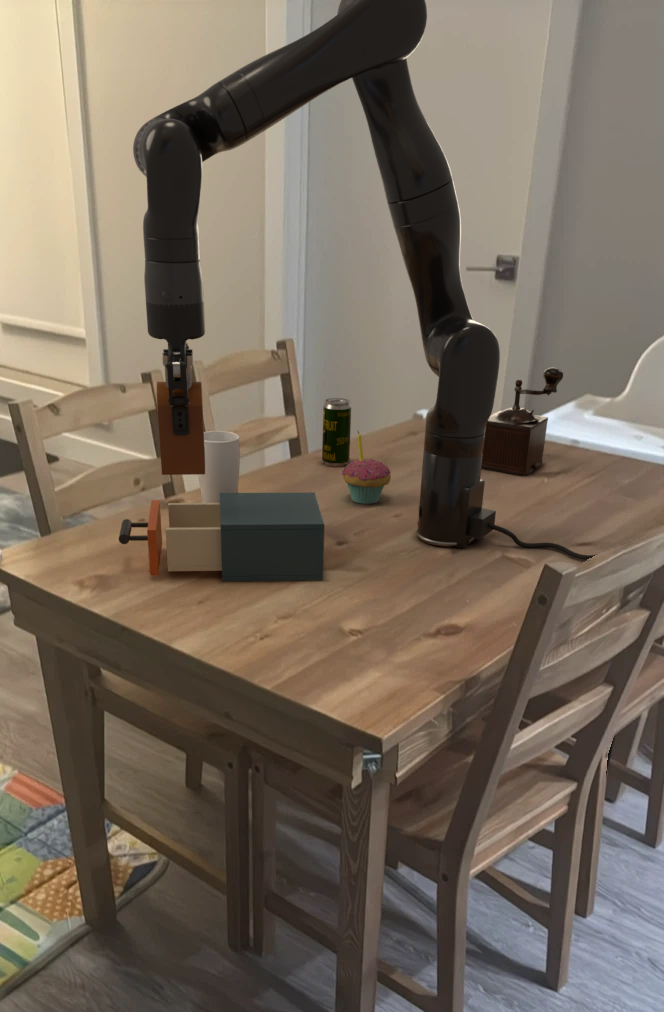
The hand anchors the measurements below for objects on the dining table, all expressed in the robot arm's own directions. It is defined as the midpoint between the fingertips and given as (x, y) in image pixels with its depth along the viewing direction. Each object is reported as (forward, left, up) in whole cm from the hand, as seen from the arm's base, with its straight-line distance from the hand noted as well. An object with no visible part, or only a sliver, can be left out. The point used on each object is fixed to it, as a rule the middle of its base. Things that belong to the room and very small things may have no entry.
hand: (181, 428), depth 137 cm
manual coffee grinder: (-20, -80, -20) cm, 85 cm away
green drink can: (+9, -58, -20) cm, 62 cm away
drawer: (+1, 0, -19) cm, 19 cm away
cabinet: (-10, -7, -20) cm, 24 cm away
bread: (0, 0, -6) cm, 6 cm away
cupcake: (-7, -42, -20) cm, 47 cm away
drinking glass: (+5, -15, -20) cm, 26 cm away
